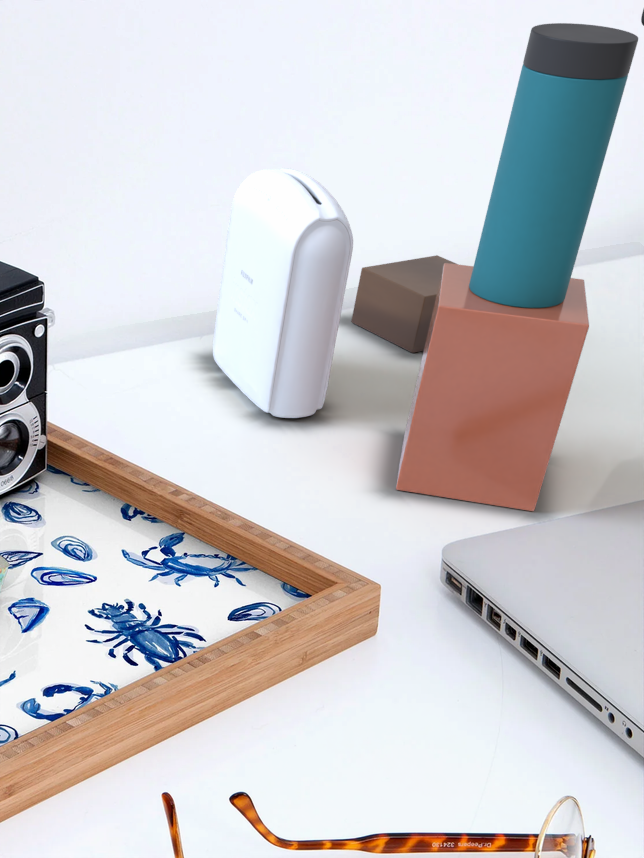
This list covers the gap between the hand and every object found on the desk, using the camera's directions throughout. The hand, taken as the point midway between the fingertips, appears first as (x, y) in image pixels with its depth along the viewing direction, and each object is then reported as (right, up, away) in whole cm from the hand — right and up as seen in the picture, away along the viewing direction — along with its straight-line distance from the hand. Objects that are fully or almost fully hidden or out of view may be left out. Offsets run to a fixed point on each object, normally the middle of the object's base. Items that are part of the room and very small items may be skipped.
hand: (586, 9), depth 66 cm
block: (+3, -6, +31) cm, 32 cm away
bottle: (0, -6, +4) cm, 7 cm away
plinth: (0, -19, +13) cm, 23 cm away
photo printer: (-9, -12, +23) cm, 27 cm away
